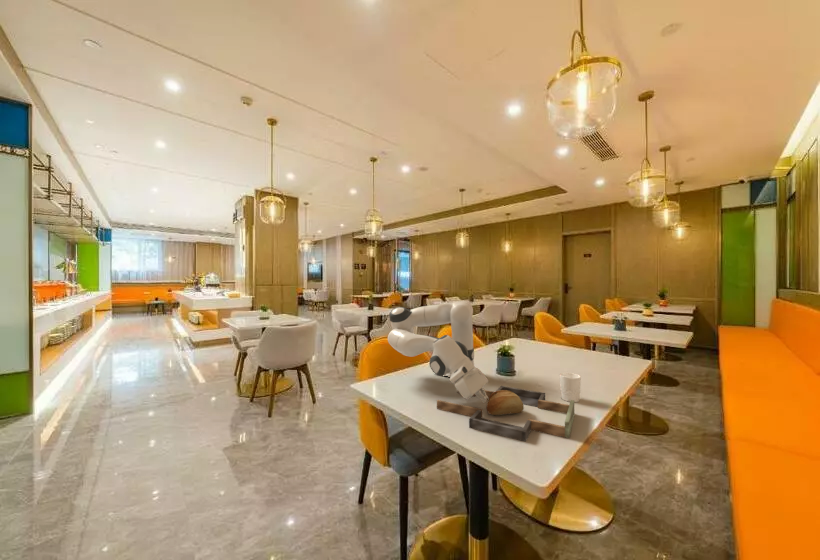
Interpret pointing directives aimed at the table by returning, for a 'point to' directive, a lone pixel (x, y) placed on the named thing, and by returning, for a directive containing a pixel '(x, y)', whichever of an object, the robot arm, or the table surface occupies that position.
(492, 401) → the bread roll
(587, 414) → the table surface
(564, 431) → the box
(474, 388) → the robot arm
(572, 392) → the white cup
